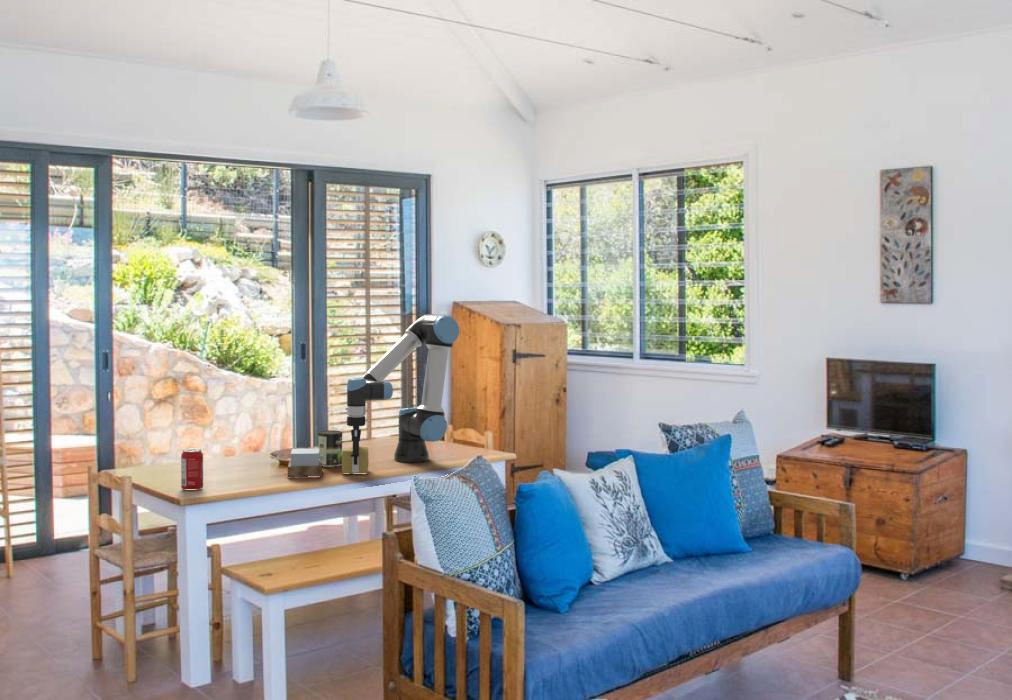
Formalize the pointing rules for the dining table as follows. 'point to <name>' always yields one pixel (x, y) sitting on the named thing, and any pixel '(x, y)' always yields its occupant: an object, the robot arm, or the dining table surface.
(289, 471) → the tower base
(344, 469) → the olive yellow cube
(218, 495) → the dining table surface
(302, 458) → the tower top
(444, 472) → the dining table surface
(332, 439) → the coffee can
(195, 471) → the soda can
